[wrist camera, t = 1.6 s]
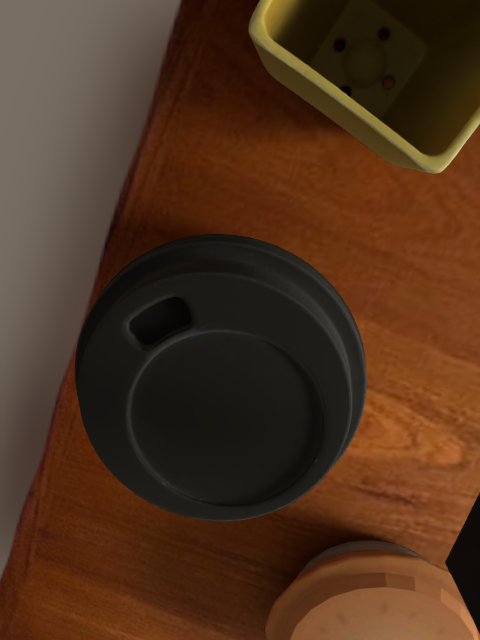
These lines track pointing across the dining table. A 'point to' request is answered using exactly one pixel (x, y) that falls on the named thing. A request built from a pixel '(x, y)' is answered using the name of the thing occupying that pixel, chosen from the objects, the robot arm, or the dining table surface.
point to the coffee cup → (220, 377)
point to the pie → (370, 598)
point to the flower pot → (381, 70)
